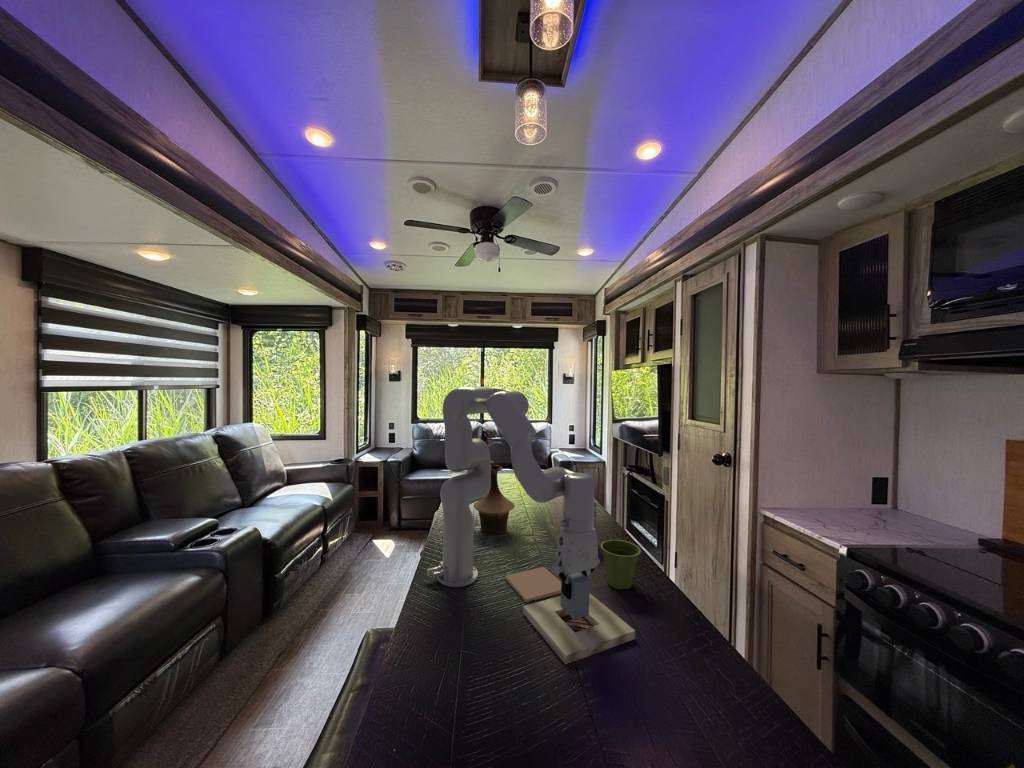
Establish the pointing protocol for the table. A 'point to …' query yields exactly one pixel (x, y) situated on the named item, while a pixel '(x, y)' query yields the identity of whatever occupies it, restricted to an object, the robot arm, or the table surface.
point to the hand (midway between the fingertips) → (575, 593)
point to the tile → (534, 584)
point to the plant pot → (620, 562)
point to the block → (577, 596)
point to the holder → (583, 642)
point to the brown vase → (494, 507)
